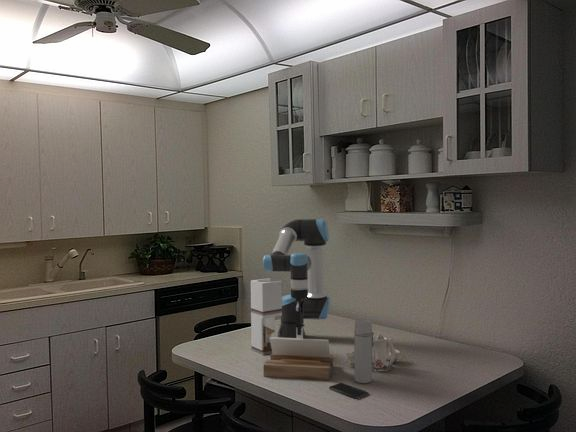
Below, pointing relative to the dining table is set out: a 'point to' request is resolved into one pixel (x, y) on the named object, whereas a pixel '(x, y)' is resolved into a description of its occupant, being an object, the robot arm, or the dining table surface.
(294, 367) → the wooden tray
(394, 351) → the chinaware
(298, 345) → the duct cover
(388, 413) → the dining table surface
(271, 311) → the wood-lined white cubby
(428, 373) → the dining table surface
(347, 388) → the phone
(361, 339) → the water bottle
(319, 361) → the orange rod
